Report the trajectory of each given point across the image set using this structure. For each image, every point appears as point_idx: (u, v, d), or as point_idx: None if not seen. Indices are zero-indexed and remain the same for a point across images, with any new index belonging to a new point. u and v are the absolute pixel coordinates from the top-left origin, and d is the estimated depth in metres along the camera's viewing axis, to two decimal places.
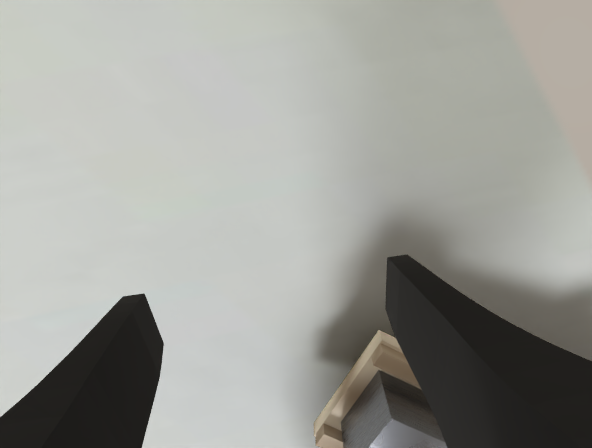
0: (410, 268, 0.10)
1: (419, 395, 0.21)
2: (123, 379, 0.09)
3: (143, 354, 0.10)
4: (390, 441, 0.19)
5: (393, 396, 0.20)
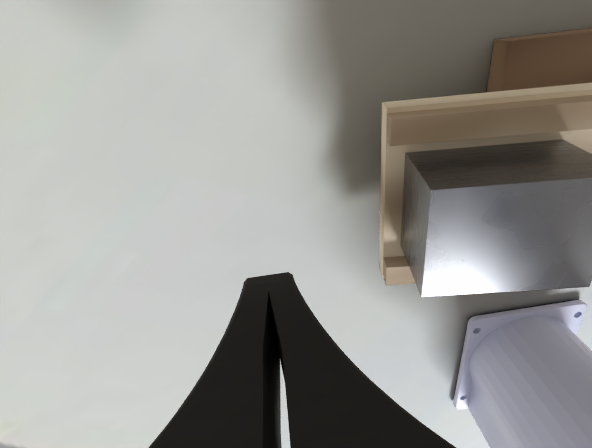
0: (280, 287, 0.10)
1: (478, 152, 0.14)
2: (271, 356, 0.09)
3: (274, 334, 0.10)
4: (451, 222, 0.12)
5: (433, 168, 0.13)
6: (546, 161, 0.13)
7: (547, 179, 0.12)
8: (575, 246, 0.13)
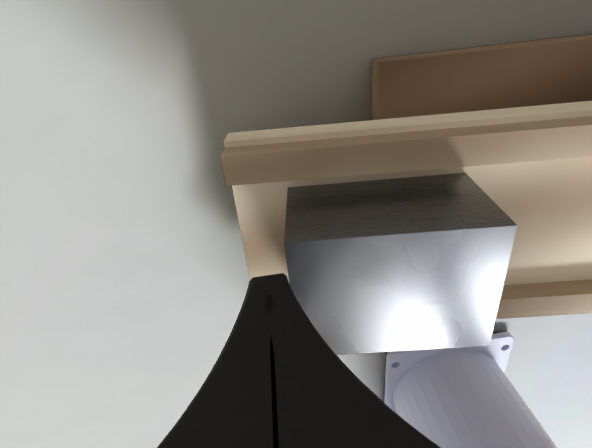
0: (273, 289, 0.10)
1: (365, 188, 0.12)
2: None
3: None
4: (315, 278, 0.11)
5: (305, 209, 0.11)
6: (432, 204, 0.11)
7: (420, 230, 0.10)
8: (465, 303, 0.11)
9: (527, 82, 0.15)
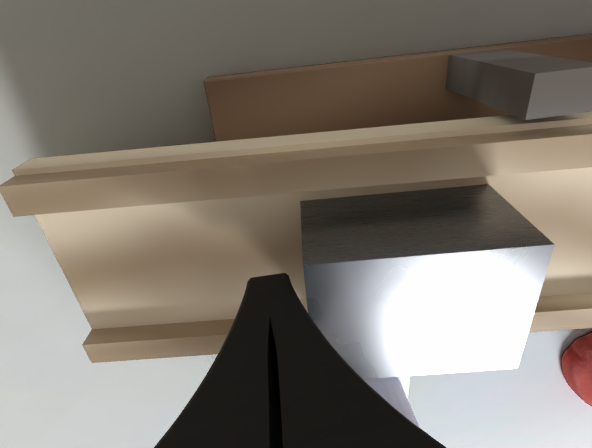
0: (276, 288, 0.10)
1: (383, 202, 0.12)
2: (275, 355, 0.09)
3: None
4: (335, 302, 0.10)
5: (321, 226, 0.11)
6: (458, 219, 0.10)
7: (449, 250, 0.09)
8: (494, 325, 0.10)
9: (366, 101, 0.14)
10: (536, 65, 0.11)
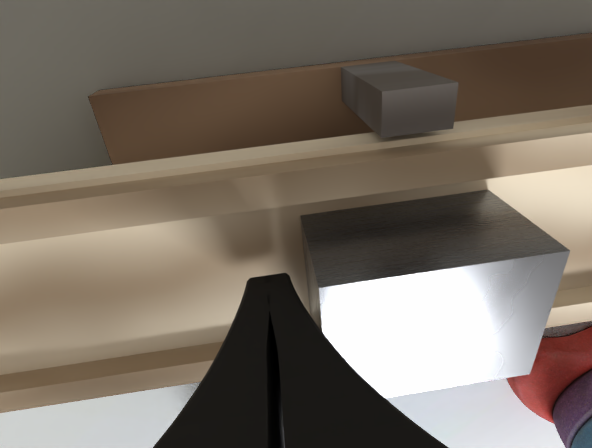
0: (277, 288, 0.10)
1: (388, 213, 0.11)
2: (274, 355, 0.09)
3: None
4: (352, 323, 0.09)
5: (329, 243, 0.10)
6: (468, 228, 0.10)
7: (468, 262, 0.09)
8: (510, 334, 0.10)
9: (260, 114, 0.14)
10: (396, 81, 0.10)
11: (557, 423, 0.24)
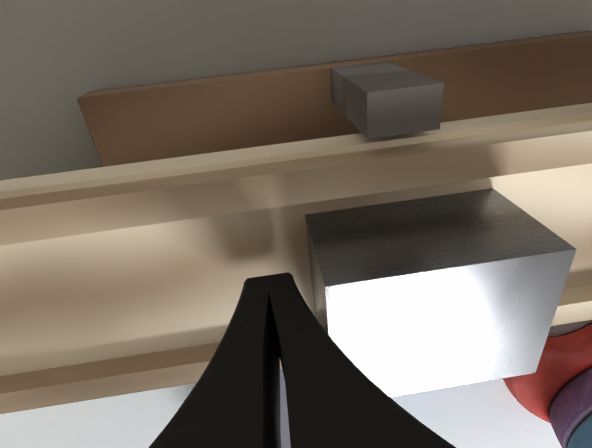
0: (280, 288, 0.10)
1: (392, 212, 0.11)
2: (271, 356, 0.09)
3: (274, 334, 0.10)
4: (357, 322, 0.09)
5: (334, 242, 0.10)
6: (473, 227, 0.10)
7: (474, 261, 0.09)
8: (515, 333, 0.10)
9: (250, 115, 0.14)
10: (382, 82, 0.10)
11: (553, 423, 0.24)
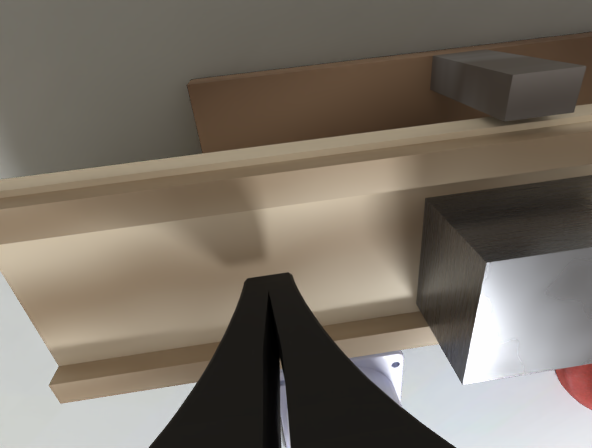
0: (280, 287, 0.10)
1: (515, 195, 0.11)
2: (271, 355, 0.09)
3: (274, 334, 0.10)
4: (506, 299, 0.09)
5: (471, 222, 0.10)
6: None
7: None
8: None
9: (350, 103, 0.14)
10: (515, 66, 0.11)
11: None
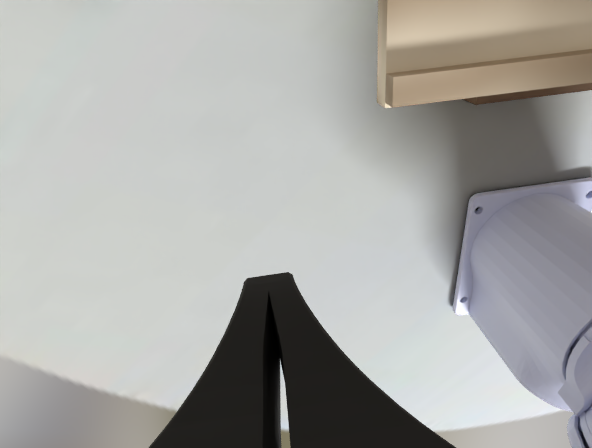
0: (280, 288, 0.10)
1: None
2: (271, 355, 0.09)
3: (274, 334, 0.10)
4: None
5: None
6: None
7: None
8: None
9: None
10: None
11: None
